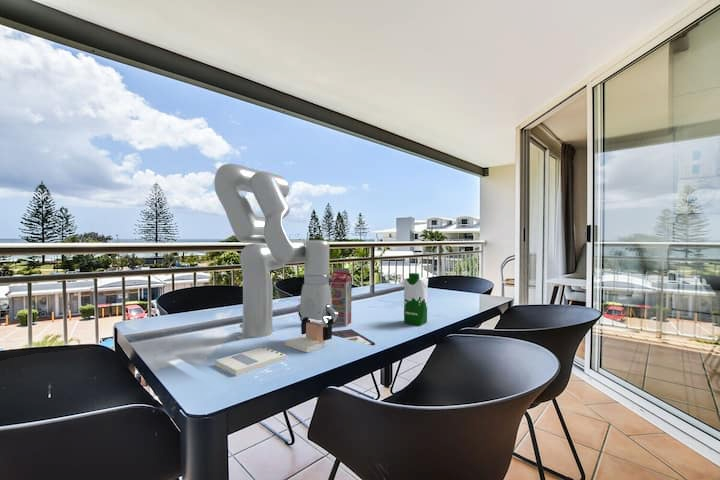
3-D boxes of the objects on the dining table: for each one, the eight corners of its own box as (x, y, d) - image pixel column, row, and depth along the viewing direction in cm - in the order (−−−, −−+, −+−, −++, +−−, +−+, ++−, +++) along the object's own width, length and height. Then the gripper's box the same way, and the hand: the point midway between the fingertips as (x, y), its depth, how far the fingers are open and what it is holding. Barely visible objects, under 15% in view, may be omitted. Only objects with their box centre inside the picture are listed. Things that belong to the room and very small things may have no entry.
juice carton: (335, 321, 134) (336, 267, 134) (351, 322, 132) (351, 267, 132) (329, 325, 128) (330, 268, 128) (345, 326, 126) (346, 269, 126)
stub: (284, 345, 98) (285, 325, 98) (308, 338, 105) (308, 319, 105) (307, 352, 92) (307, 331, 92) (330, 345, 99) (330, 325, 99)
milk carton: (401, 323, 132) (401, 273, 132) (410, 319, 140) (410, 271, 140) (421, 326, 127) (422, 274, 127) (430, 322, 135) (430, 273, 135)
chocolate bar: (351, 329, 121) (374, 343, 104) (351, 331, 121) (374, 346, 104) (328, 331, 117) (348, 346, 100) (328, 334, 117) (348, 349, 100)
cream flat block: (215, 366, 82) (215, 359, 82) (263, 352, 93) (263, 346, 93) (236, 376, 76) (236, 369, 76) (286, 360, 86) (286, 354, 86)
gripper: (289, 279, 104) (288, 333, 104) (327, 284, 93) (327, 345, 93) (307, 277, 110) (306, 329, 110) (345, 281, 99) (345, 339, 99)
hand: (316, 336), depth 101 cm, fingers open, 9 cm apart
